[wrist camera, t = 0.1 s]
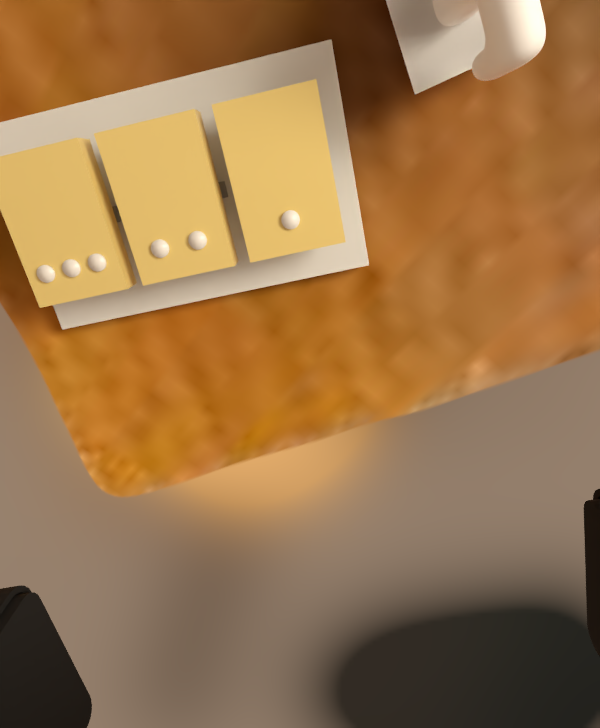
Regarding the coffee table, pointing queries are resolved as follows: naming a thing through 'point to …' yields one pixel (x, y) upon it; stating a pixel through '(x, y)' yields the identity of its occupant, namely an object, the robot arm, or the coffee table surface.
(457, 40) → the figurine
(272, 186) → the key
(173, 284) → the board
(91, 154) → the key
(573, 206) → the coffee table surface
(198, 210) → the key
